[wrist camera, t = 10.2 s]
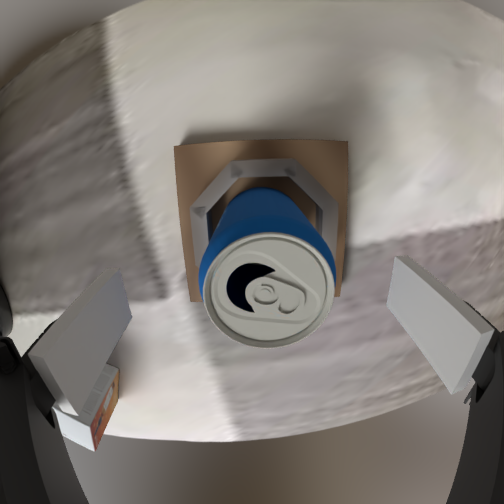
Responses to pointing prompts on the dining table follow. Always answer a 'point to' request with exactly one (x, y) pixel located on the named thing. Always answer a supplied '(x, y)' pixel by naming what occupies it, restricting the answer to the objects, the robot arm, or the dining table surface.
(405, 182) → the dining table surface
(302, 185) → the socket
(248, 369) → the dining table surface
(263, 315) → the beverage can
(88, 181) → the dining table surface
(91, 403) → the small box
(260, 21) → the dining table surface
